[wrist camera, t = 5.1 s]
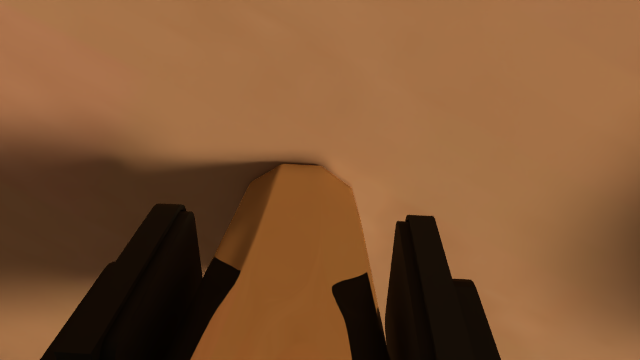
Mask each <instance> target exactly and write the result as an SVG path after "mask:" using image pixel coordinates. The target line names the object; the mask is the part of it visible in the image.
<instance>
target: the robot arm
mask: <svg viewBox="0 0 640 360" xmlns="http://www.w3.org/2000/svg"><path fill="white" fill-rule="evenodd" d="M202 279H203V277H202V270H201V262H200V255H199V247H198V240H197V232H196V225H195V218H194V214H193V212H187V211H186V208H185V206H184V205H178V204H156V205H155V206H154V207H153V208H152V210H151V211H150V213H149V214H148V215H147V217H146V218H145V220H144V221H143V223H142V224H141V226H140V227H139V228H138V230H137V231H136V233H135V234H134V236H133V237H132V239H131V240H130V242H129V243H128V244H127V246H126V247H125V249H124V250H123V252H122V253H121V255H120V256H119V257H118V259H117V260H116V262H112V263H109V264H108V265H107V266H106V268H105V269H104V270H103V271H102V273H101V274H100V276H99V277H98V279H97V280H96V281H95V283H94V284H93V286H92V287H91V288H90V290H89V291H88V293H87V294H86V295H85V297H84V298H83V300H82V301H81V302H80V304H79V305H78V307H77V308H76V310H75V311H74V312H73V314H72V315H71V317H70V318H69V319H68V321H67V322H66V324H65V325H64V326H63V328H62V329H61V331H60V332H59V334H58V335H57V336H56V338H55V339H54V341H53V342H52V343H51V345H50V346H49V348H48V349H47V350H46V352H45V353H44V355H43V356H42V358H41V359H40V360H159V359H160V357H161V356H162V354H163V352H164V350H165V348H166V347H167V345H168V343H169V341H170V339H171V338H172V336H173V334H174V332H175V330H176V329H177V327H178V325H179V323H180V321H181V319H182V318H183V316H184V314H185V312H186V310H187V308H188V306H189V304H190V302H191V300H192V299H193V297H194V295H195V293H196V291H197V289H198V287H199V285H200V283H201V281H202ZM385 333H386V344H387V350H388V353H389V356H390V359H391V360H501V358H500V355H499V353H498V350H497V347H496V344H495V341H494V338H493V335H492V332H491V329H490V327H489V324H488V321H487V318H486V315H485V312H484V309H483V306H482V304H481V301H480V298H479V295H478V292H477V289H476V287H475V285H474V282H473V281H471V280H467V279H452V277H451V273H450V270H449V266H448V263H447V259H446V256H445V252H444V249H443V246H442V242H441V239H440V235H439V232H438V228H437V225H436V221H435V218H434V217H433V216H419V215H407V216H406V220H405V222H403V221H397V223H396V229H395V237H394V245H393V254H392V262H391V271H390V279H389V288H388V296H387V304H386V313H385Z"/></svg>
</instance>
